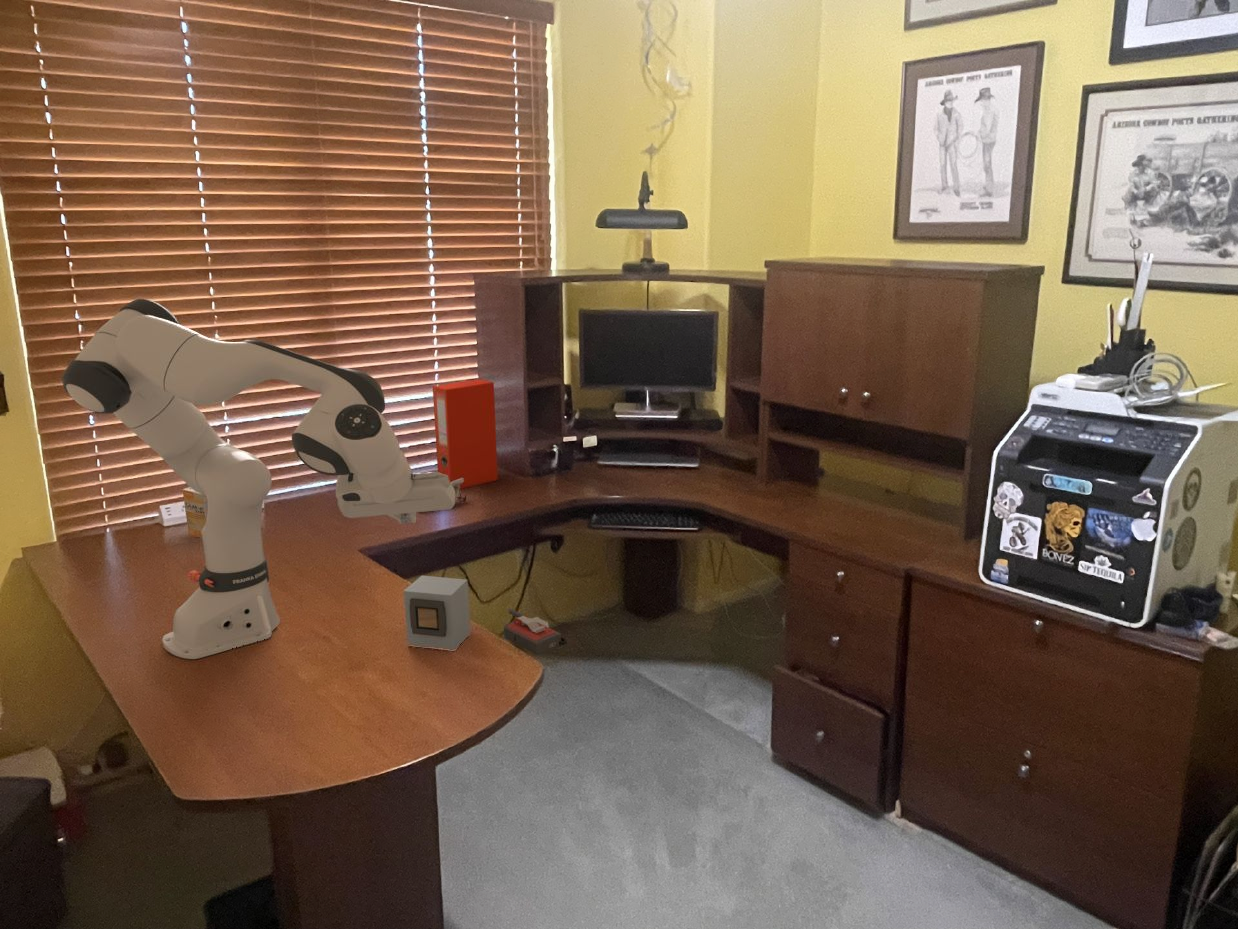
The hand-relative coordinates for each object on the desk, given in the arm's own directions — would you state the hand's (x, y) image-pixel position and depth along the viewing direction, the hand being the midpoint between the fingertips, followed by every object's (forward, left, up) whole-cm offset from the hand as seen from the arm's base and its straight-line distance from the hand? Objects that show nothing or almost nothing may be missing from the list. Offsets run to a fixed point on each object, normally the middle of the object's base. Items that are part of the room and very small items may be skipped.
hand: (408, 520), depth 168 cm
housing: (+8, +4, -29) cm, 30 cm away
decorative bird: (+64, +72, -29) cm, 100 cm away
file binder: (+85, +85, -29) cm, 123 cm away
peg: (+10, +5, -24) cm, 26 cm away
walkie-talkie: (+21, -8, -29) cm, 37 cm away
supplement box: (+8, +103, -29) cm, 107 cm away
